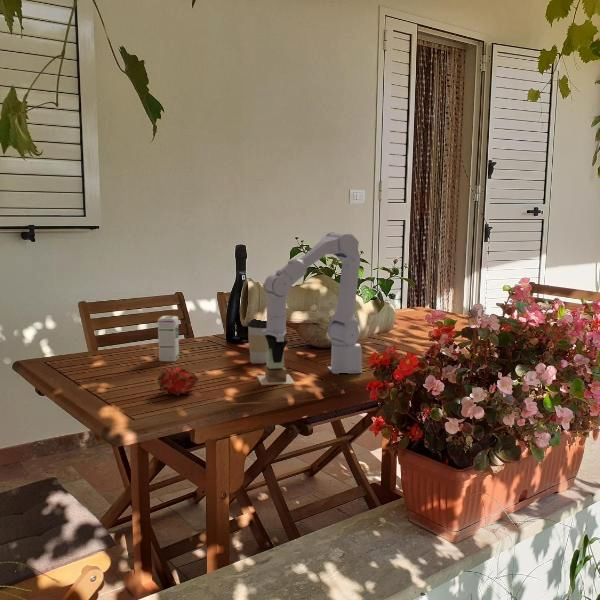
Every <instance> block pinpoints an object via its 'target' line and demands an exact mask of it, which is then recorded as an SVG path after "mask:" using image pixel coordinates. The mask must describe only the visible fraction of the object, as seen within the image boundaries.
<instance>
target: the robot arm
mask: <svg viewBox="0 0 600 600" xmlns="http://www.w3.org/2000/svg"><path fill="white" fill-rule="evenodd" d="M359 242H360V241H359V240H358V239H357V238H356V237H355V235H353V234H352V233H344V232H343V233H342V232H335V231H330V232H328V233H327V234H326V235H324V236H322V237H321V238H320V241H319V242H317V243H316V245H314V246H313V247H312V248H310V250H308V252H306V253H305V254H304V255H303V256H302V257H301V258H299V259H297V258H294V259H289V260H288V261H287V263H286V265H285V266H283V267H282V268H281V269H278V270H276V271H275V274H270V275H268V276H267V277H266V279H265V280H264V283H263V284H262V287H263V290H264V291H265V294H266V318H267V329H266V330H263V333H267V334H270V335H265V337H266V339H267V342H268V346H269V349H270V348H271V349H272V356H273V361H274V363H281V361H282V356H283V352H284V353H285V348H286V347H287V344H288V342H289V340H288V339H286V338H285V335H286V334H287V321H286V320H287V294H289V292H290V291H291V287H292V286H293V285H294V284H296V283H297V282H298V281H299V280H300V279H302V278H303V277H304V276H305V275H306V274H307V269H308V268H309V267H311V266H312V265H314V264H315V263H316V262H318V261H319V260H320V259H322V258H324V257H325V256H326V255H334V256H335V257H336V258H337V259H338V260H339V261H340V263H341V272H340V281H339V290H338V298H337V306H336V312H335V313H334V314H333V315H332V316H331V319H330V323H329V324H328V326H327V336H328V337H329V338H330V343H331V352H330V353H331V356H330V357H331V358H330V359H331V361H330V366H327V369H328V370H330V372H331V373H332V374H336V375H340V374H339V373H348V374H362V373H363V371H362V365H363V363H362V362H363V350H362V349H363V348H362V346H361V344H360V343H357V342H358V340H359V337H360V330H359V321H358V319H357V317H356V316H355V307H356V300H357V289H358V282H359V274H360V266H361V255H360V252H359V251H360V250H359Z"/></svg>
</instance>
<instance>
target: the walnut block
mask: <svg viewBox="0 0 600 600" xmlns="http://www.w3.org/2000/svg"><path fill="white" fill-rule="evenodd" d="M264 369H265V370H264V371H265V374H264V375H265V378H266V380H267V381H268V382H286V374H287V368H286V367H285V366H284V368H273V369H269V368H268V366H267V365H265V366H264Z"/></svg>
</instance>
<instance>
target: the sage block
mask: <svg viewBox="0 0 600 600" xmlns="http://www.w3.org/2000/svg"><path fill="white" fill-rule="evenodd" d="M266 366H268V368H269V369H273V368H284V367H285V351H284V352H283V356H282V361H281V363H274V361H273V356H272V349H271V348H270V349H267V363H266Z"/></svg>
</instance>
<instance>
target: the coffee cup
mask: <svg viewBox="0 0 600 600" xmlns="http://www.w3.org/2000/svg"><path fill="white" fill-rule="evenodd" d="M250 320H251V319H250ZM250 320H249V321H250ZM249 321H248V322H247V328H248V330H247V331H248V332H247V336H248V350H249V359H250V363H251V364H267V349H269V346H268V342H267V339H266V337H265V335H270V334H267V333H263V330H266V329H267V321H261V320H256V319H253V320H251V321H250V322H249Z"/></svg>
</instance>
